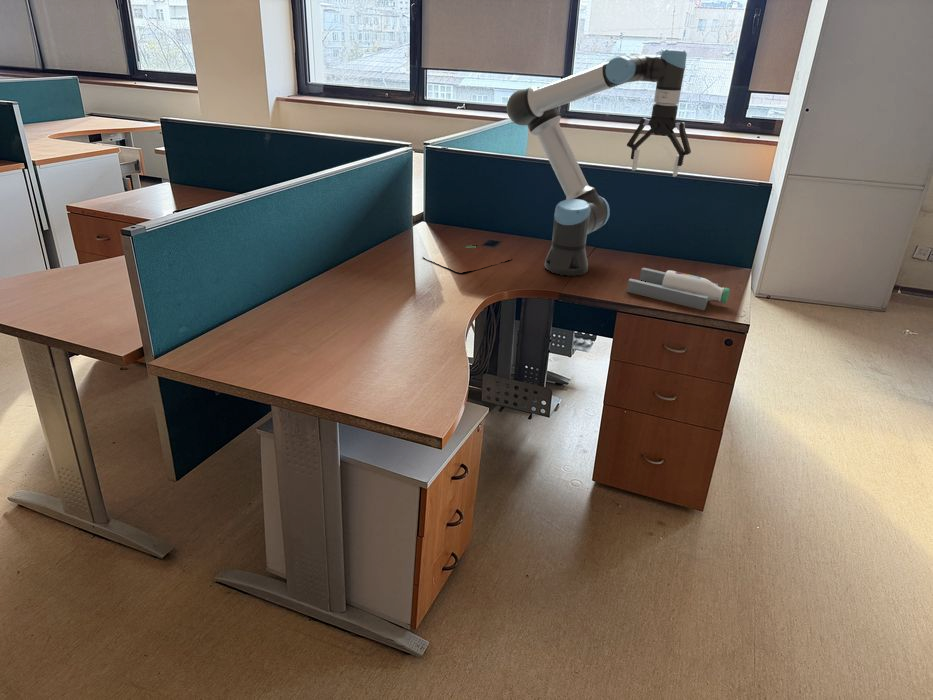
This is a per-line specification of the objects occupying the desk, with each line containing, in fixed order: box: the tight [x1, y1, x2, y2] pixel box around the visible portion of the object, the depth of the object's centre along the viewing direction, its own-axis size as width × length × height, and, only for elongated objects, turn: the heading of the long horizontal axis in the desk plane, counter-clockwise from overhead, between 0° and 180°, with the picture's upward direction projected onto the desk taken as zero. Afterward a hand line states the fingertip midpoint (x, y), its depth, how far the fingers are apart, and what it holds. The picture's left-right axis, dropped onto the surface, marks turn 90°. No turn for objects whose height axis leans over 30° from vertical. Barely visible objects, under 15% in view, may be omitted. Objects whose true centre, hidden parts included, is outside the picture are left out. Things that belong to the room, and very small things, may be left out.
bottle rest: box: [626, 267, 719, 311], centre depth 211 cm, size 25×15×4 cm, turn 58°
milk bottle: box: [661, 269, 731, 304], centre depth 207 cm, size 8×8×20 cm
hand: (654, 173), depth 212 cm, fingers open, 13 cm apart
